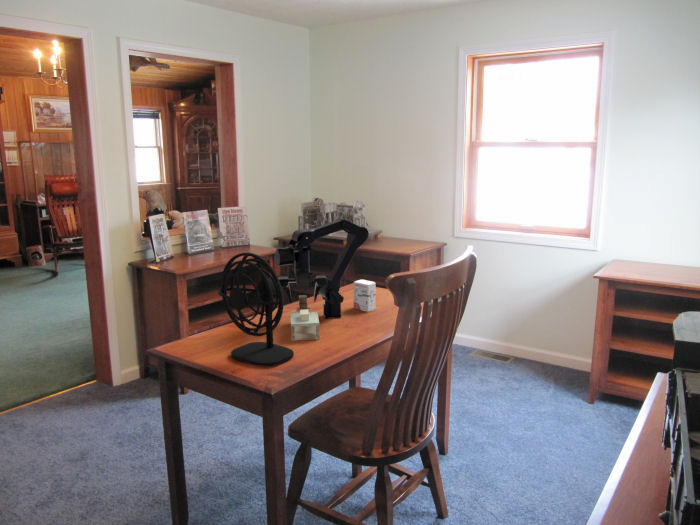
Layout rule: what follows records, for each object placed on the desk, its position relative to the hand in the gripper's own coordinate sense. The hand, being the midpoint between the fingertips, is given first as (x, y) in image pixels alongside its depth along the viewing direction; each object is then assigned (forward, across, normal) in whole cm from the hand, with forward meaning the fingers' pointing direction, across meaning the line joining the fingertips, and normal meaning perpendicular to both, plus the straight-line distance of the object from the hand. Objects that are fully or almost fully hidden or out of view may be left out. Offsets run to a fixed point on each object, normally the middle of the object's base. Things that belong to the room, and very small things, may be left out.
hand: (302, 302), depth 218 cm
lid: (+2, 0, -15) cm, 15 cm away
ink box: (+8, +26, +13) cm, 30 cm away
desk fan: (+8, -15, -36) cm, 40 cm away
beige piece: (+7, 0, -12) cm, 14 cm away
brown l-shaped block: (+1, 0, -2) cm, 2 cm away
